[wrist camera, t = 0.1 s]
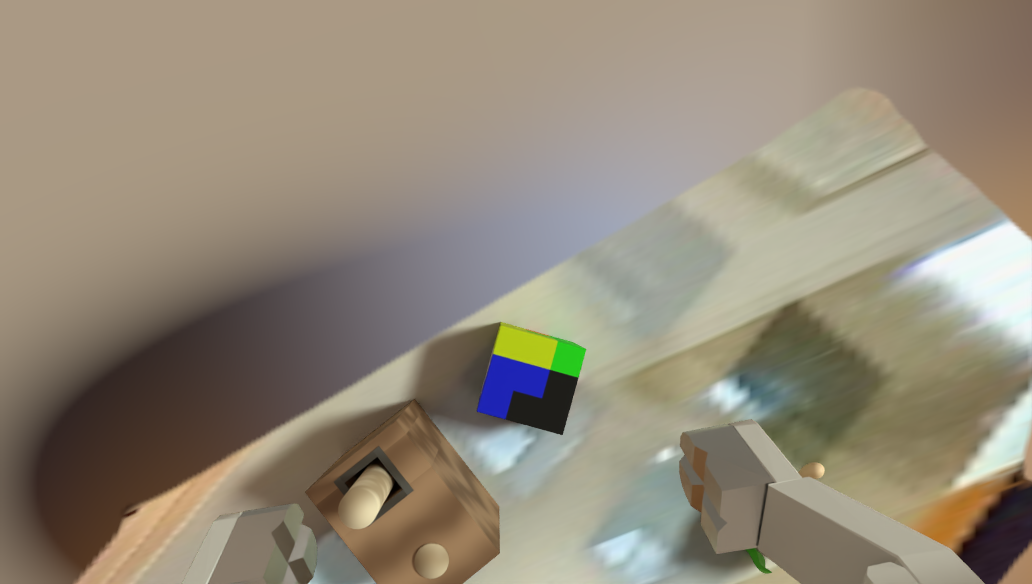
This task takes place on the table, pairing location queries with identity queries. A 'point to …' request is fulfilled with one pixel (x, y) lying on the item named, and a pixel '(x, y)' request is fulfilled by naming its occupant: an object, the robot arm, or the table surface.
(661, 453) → the table surface
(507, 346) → the puzzle toy
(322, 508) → the walnut block
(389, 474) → the peg
